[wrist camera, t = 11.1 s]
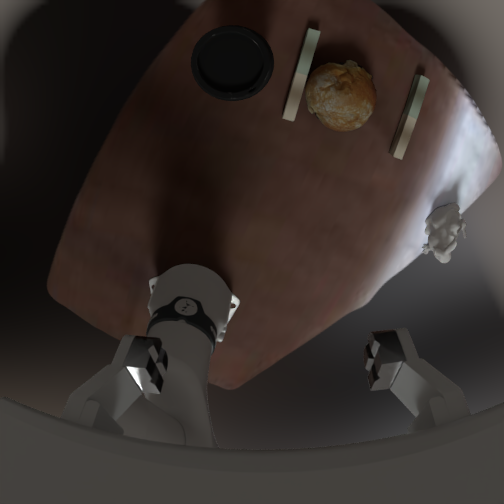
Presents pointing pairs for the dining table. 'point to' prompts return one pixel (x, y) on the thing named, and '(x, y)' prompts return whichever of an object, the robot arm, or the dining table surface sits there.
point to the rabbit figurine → (444, 231)
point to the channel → (407, 116)
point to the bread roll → (341, 95)
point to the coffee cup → (232, 63)
